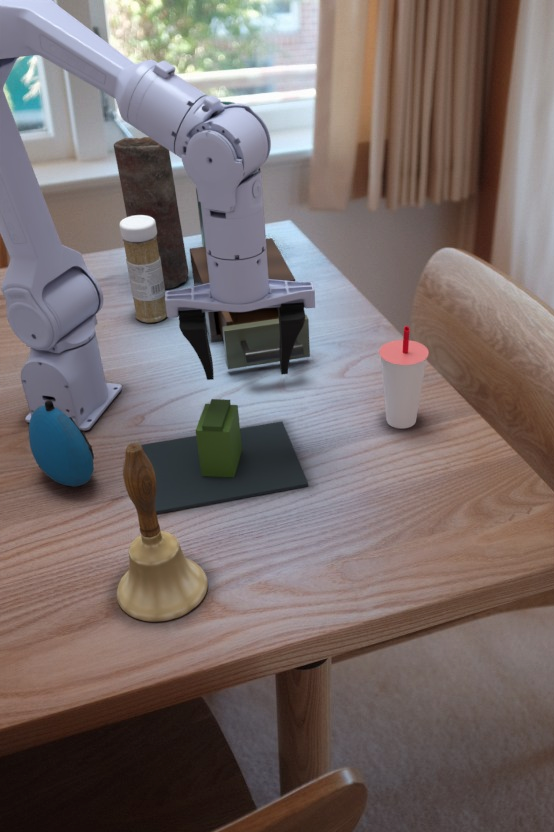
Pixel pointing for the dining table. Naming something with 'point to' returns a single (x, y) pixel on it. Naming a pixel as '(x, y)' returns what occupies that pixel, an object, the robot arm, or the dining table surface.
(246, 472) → the mat
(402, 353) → the cup
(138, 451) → the hand bell
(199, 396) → the dining table surface
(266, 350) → the drawer
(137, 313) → the sprinkles bottle
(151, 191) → the candle
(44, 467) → the ornament
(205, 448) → the green stepped block
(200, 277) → the cabinet
